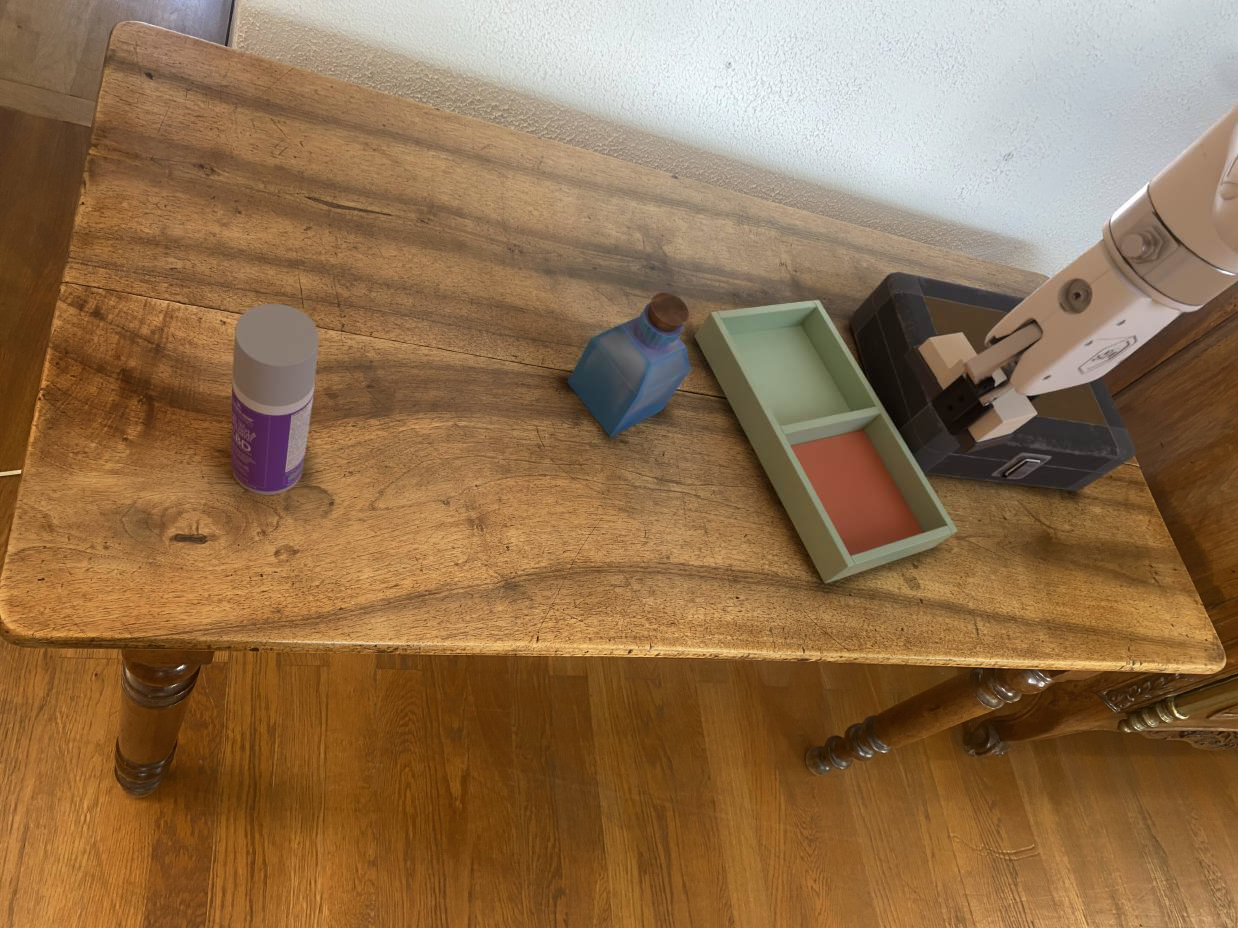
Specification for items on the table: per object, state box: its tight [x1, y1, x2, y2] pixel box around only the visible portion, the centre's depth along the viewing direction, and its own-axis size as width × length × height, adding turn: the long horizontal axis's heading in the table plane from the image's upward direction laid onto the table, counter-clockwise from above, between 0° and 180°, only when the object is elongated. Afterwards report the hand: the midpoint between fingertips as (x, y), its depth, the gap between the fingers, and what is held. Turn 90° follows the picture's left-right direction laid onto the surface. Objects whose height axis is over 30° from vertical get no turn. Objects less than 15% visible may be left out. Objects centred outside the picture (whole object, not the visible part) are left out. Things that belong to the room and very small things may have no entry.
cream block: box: [904, 332, 1037, 453], centre depth 65 cm, size 9×4×4 cm, turn 25°
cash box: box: [850, 271, 1136, 491], centre depth 90 cm, size 25×20×8 cm
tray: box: [694, 299, 959, 584], centre depth 81 cm, size 14×26×4 cm, turn 24°
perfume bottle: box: [566, 291, 691, 438], centre depth 71 cm, size 6×6×12 cm
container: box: [230, 303, 320, 496], centre depth 55 cm, size 5×5×15 cm
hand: (968, 412), depth 66 cm, fingers closed on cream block, 4 cm apart
